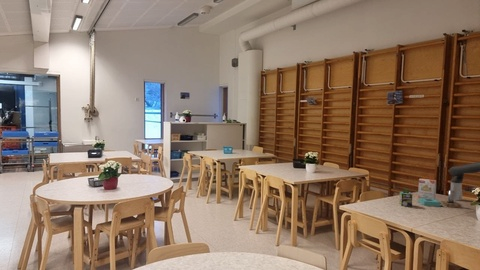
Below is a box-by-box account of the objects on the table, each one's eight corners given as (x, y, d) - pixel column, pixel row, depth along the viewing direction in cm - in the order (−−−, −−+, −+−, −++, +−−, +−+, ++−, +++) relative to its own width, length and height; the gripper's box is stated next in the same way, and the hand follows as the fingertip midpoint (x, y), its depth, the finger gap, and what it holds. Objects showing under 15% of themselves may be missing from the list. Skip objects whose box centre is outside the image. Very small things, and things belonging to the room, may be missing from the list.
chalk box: (409, 204, 298) (410, 188, 297) (412, 206, 289) (413, 190, 288) (398, 203, 300) (399, 187, 300) (401, 205, 291) (401, 189, 291)
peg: (452, 205, 298) (452, 190, 298) (454, 206, 294) (455, 191, 293) (447, 205, 299) (447, 190, 298) (449, 206, 295) (450, 191, 294)
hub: (434, 202, 306) (434, 198, 306) (440, 206, 292) (440, 202, 292) (418, 202, 308) (418, 197, 308) (424, 205, 295) (424, 201, 294)
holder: (454, 204, 301) (454, 201, 301) (461, 208, 289) (461, 204, 289) (440, 203, 303) (440, 200, 303) (446, 207, 291) (446, 203, 291)
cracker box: (417, 199, 320) (418, 178, 319) (419, 198, 324) (420, 178, 323) (433, 202, 309) (434, 180, 308) (435, 201, 313) (436, 180, 313)
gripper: (490, 186, 279) (468, 183, 292) (486, 188, 270) (463, 185, 282) (490, 195, 279) (468, 192, 292) (486, 197, 270) (463, 193, 282)
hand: (466, 188), depth 287 cm, fingers open, 8 cm apart
